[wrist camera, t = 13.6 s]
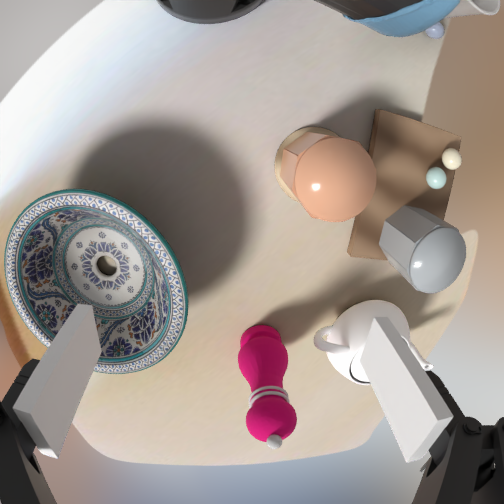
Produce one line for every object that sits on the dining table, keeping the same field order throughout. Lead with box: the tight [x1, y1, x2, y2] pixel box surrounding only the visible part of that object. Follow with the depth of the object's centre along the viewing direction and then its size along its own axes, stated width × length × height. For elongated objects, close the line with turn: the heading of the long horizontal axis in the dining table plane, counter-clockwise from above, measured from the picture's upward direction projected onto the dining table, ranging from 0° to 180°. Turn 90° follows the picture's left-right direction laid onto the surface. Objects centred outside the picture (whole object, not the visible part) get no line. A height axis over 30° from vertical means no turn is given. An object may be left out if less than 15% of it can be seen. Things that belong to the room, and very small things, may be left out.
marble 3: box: [442, 148, 462, 170], centre depth 36 cm, size 3×3×3 cm
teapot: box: [314, 300, 433, 385], centre depth 45 cm, size 22×14×11 cm, turn 71°
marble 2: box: [426, 167, 447, 189], centre depth 37 cm, size 3×3×3 cm
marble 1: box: [425, 22, 444, 39], centre depth 30 cm, size 3×3×3 cm
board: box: [347, 109, 461, 260], centre depth 40 cm, size 20×14×2 cm
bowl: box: [4, 189, 188, 374], centre depth 38 cm, size 25×25×10 cm
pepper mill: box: [238, 325, 297, 449], centre depth 40 cm, size 7×7×20 cm
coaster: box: [275, 127, 341, 203], centre depth 39 cm, size 10×10×1 cm
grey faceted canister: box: [379, 205, 466, 293], centre depth 38 cm, size 8×8×9 cm
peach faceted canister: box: [280, 132, 376, 222], centre depth 35 cm, size 8×8×9 cm
